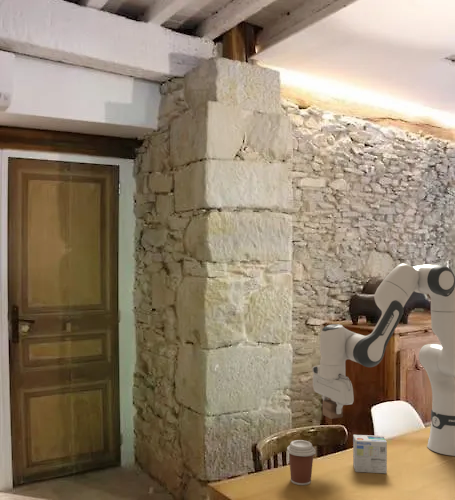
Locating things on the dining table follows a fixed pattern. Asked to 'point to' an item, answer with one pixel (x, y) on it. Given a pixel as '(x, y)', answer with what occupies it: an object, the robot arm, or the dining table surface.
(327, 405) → the walnut cube
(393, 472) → the dining table surface
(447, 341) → the robot arm
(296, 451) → the coffee cup
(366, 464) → the light bulb box
